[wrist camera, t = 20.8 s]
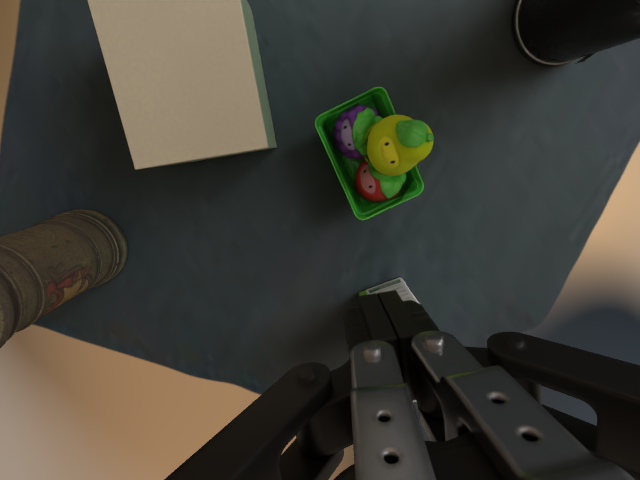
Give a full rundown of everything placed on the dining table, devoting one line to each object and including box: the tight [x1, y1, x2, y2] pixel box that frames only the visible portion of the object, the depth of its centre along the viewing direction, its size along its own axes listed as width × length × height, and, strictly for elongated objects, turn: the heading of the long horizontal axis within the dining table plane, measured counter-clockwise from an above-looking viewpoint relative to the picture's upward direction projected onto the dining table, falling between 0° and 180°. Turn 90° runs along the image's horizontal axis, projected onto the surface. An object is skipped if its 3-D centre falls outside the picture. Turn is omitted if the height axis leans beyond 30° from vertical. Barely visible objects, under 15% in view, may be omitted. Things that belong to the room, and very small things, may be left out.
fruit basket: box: [315, 87, 434, 220], centre depth 36 cm, size 11×9×11 cm
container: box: [0, 209, 128, 348], centre depth 34 cm, size 9×9×18 cm
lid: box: [88, 0, 269, 170], centre depth 30 cm, size 14×12×1 cm
